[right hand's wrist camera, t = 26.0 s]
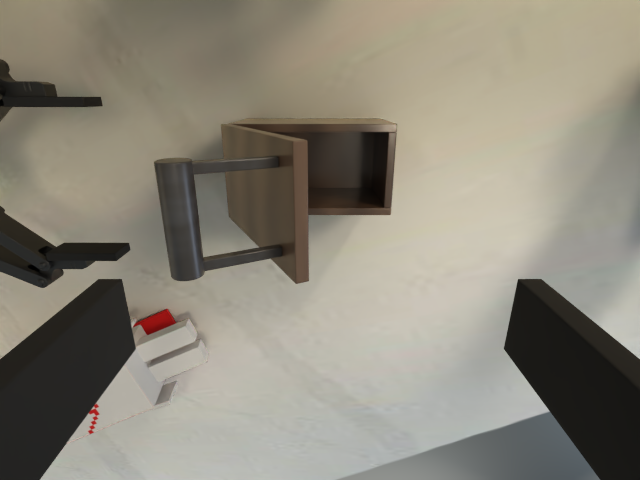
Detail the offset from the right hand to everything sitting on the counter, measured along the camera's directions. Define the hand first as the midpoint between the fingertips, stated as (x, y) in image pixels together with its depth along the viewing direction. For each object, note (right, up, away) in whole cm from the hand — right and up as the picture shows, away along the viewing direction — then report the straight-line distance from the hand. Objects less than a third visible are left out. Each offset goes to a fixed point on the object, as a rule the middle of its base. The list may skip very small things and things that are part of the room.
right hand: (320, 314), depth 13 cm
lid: (-5, +7, +18) cm, 20 cm away
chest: (-1, +13, +35) cm, 38 cm away
